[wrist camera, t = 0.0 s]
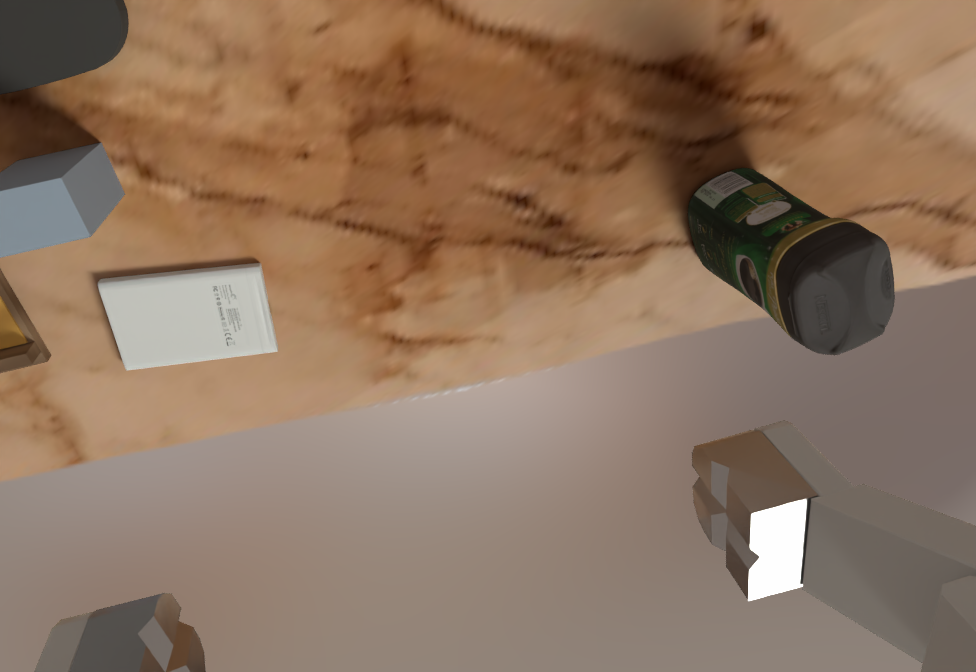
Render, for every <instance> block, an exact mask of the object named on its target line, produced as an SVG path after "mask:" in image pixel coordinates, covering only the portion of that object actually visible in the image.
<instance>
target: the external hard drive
mask: <svg viewBox="0 0 976 672" xmlns="http://www.w3.org/2000/svg"><path fill="white" fill-rule="evenodd" d="M98 289H99V292H100V295H101V298H102V301H103V304H104V307H105V310H106V313H107V316H108V319H109V322H110V325H111V328H112V331H113V334H114V337H115V340H116V343H117V346H118V349H119V352H120V355H121V358H122V361H123V364H124V366H125V369H126V370H134V369H142V368H150V367H158V366H166V365H174V364H182V363H190V362H198V361H207V360H214V359H222V358H230V357H238V356H246V355H254V354H262V353H271V352H278V345H277V340H276V335H275V330H274V325H273V321H272V316H271V314H270V309H269V304H268V296H267V291H266V286H265V282H264V277H263V272H262V267H261V263H253V264H242V265H232V266H222V267H212V268H202V269H192V270H182V271H173V272H163V273H153V274H143V275H134V276H124V277H114V278H104V279H100V280H99V282H98Z"/></svg>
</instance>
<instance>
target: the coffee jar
mask: <svg viewBox="0 0 976 672" xmlns="http://www.w3.org/2000/svg"><path fill="white" fill-rule="evenodd" d="M688 219H689V226H690V232H691V236H692V239H693V243H694V246H695V249H696V252H697V254H698V256H699V259H700V261H701V262H702V264H703V265H704V266H705V267H706V268H707V269H708V270H709V271H711V272H712V273H713V274H715V275H716V276H717V277H719V278H720V279H722V280H723V281H725V282H726V283H728V284H730V285H731V286H733V287H734V288H735V289H737V290H738V291H740V292H741V293H742V294H744V295H745V296H746V297H748V298H749V299H750V300H752V301H753V302H755V303H756V304H757V305H759V306H760V307H761V308H762V309H764V310H765V311H766V312H767V313H768V314H769V315H770V316H771V317H772V318H773V319H774V320H775V321H776V322H777V323H778V324H779V325H780V326H781V328H782V329H783V330H784V331H785V332H786V333H787V334H788V335H789V336H790V337H792V338H793V339H794V340H795V341H797V342H799V343H800V344H802V345H803V346H805V347H806V348H808V349H810V350H812V351H814V352H816V353H820V354H827V355H838V354H841V353H844V352H846V351H849V350H852V349H854V348H856V347H858V346H861V345H863V344H865V343H866V342H868V341H871V340H872V339H874V338H876V337H878V336H880V335H881V334H883V332H884V330H885V327H886V325H887V324H888V321H889V319H890V317H891V314H892V311H893V307H894V299H895V295H894V277H893V269H892V263H891V258H890V252H889V248H888V246H887V244H886V242H885V241H884V240H883V239H882V238H880V237H879V236H878V235H876V234H874V233H872V232H870V231H869V230H867V229H866V228H864V227H862V226H861V225H860V224H858V223H856V222H854V221H851V220H848V219H843V218H830V217H828V216H826V215H824V214H822V213H821V212H819V211H817V210H816V209H814V208H812V207H811V206H809V205H808V204H806V203H804V202H803V201H801V200H800V199H798V198H796V197H795V196H793V195H792V194H790V193H789V192H787V191H786V190H785V189H783V188H782V187H780V186H779V185H777V184H776V183H774V182H773V181H771V180H770V179H768V178H767V177H765V176H763V175H762V174H760V173H758V172H756V171H755V170H752V169H748V168H740V169H735V170H732V171H729V172H726V173H723V174H721V175H718V176H716V177H715V178H713V179H711V180H710V181H708V182H706V183H705V184H704V185H702V186H701V187H700V188H699V189H698V190H697V191H696V192H695V193H694V195H693V196H692V198H691V200H690V202H689V206H688Z"/></svg>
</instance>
